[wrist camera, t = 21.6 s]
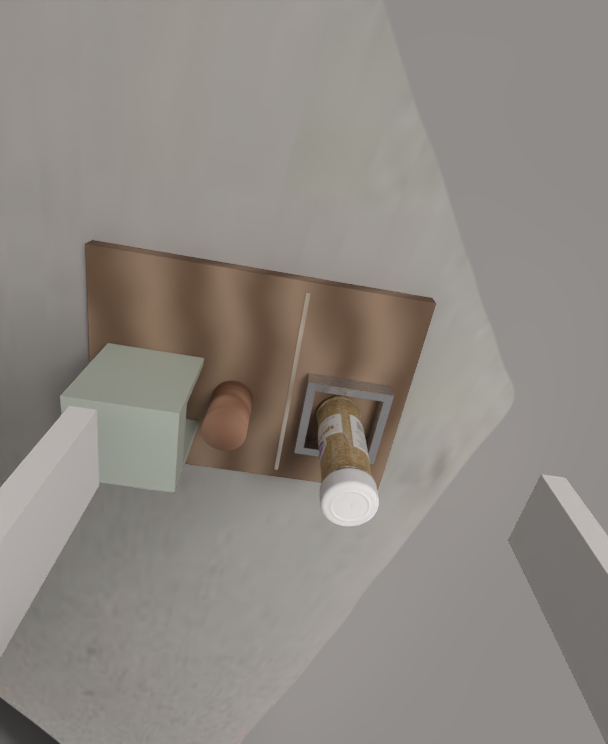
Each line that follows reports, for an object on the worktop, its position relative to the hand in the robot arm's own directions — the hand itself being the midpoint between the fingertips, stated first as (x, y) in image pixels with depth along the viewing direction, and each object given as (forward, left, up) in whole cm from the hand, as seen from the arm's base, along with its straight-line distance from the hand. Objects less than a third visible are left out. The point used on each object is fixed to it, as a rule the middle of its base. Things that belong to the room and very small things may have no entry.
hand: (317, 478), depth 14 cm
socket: (+6, -16, -30) cm, 35 cm away
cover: (-13, -16, -30) cm, 36 cm away
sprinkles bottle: (+6, -16, -30) cm, 35 cm away
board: (-4, -14, -32) cm, 35 cm away
